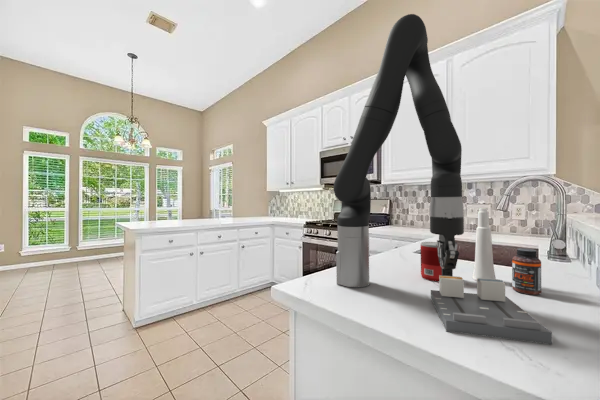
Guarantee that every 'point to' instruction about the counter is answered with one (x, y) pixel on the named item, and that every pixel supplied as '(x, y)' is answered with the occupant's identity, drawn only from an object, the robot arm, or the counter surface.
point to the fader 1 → (451, 286)
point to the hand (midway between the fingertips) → (447, 283)
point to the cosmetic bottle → (483, 248)
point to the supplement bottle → (526, 272)
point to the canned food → (430, 261)
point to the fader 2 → (491, 289)
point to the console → (488, 318)
